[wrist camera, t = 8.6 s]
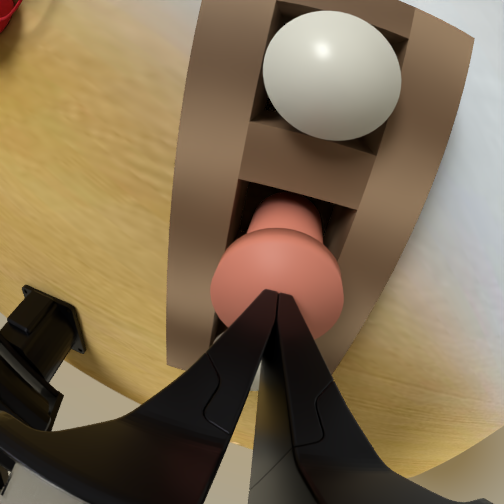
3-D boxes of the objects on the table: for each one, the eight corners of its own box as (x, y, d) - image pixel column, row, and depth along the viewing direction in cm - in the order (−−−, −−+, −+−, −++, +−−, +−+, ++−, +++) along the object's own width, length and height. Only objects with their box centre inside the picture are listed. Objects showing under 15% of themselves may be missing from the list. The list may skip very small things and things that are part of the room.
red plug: (317, 272, 14) (317, 356, 10) (234, 251, 15) (204, 329, 10) (345, 195, 12) (364, 264, 8) (250, 170, 12) (219, 227, 8)
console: (317, 350, 21) (316, 400, 17) (187, 318, 21) (166, 364, 17) (434, 46, 10) (477, 40, 6) (237, -9, 10) (211, -38, 7)
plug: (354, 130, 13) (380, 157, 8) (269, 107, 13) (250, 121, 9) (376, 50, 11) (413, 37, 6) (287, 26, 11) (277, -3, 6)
